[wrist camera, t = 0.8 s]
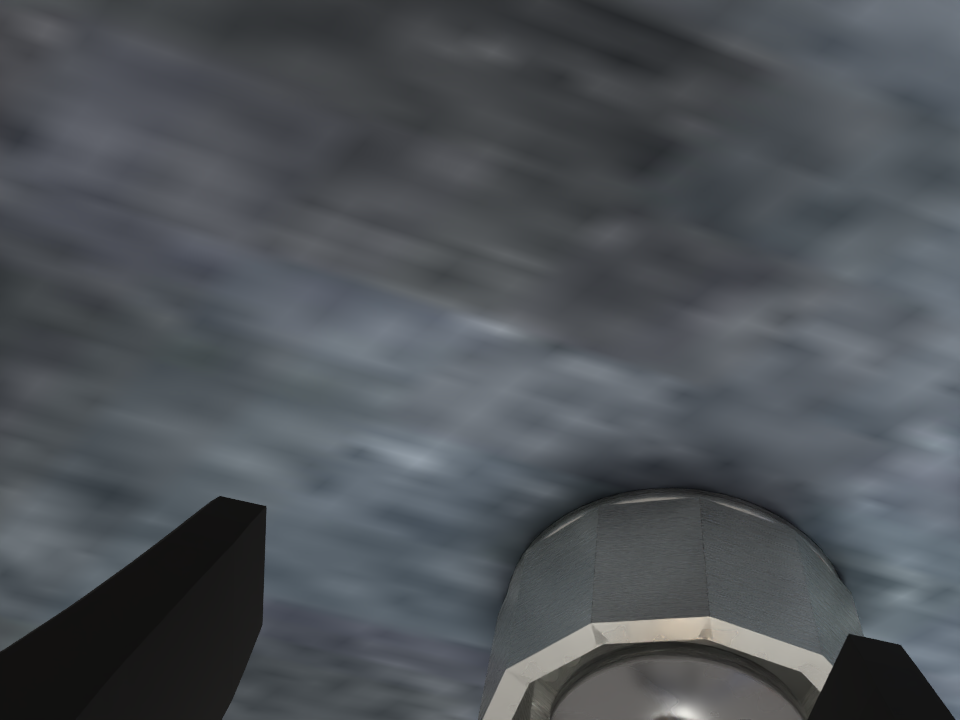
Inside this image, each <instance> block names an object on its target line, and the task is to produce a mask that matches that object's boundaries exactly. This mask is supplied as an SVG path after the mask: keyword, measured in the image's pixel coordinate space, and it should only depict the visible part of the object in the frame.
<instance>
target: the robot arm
mask: <svg viewBox="0 0 960 720" xmlns="http://www.w3.org/2000/svg"><path fill="white" fill-rule="evenodd" d="M265 534H266V506H263V505H258V504H254V503H249V502H245V501H240V500H235V499H231V498H226V497H222V496H219V497H217V498H216V499H214V500H212V501H211V502H210V503H208V504H207V505H206V506H204V507H203V508H202V509H200V510H199V511H198V512H196V513H195V514H194V515H193V516H191V517H190V518H189V519H187V520H186V521H185V522H184V523H182V524H181V525H180V526H178V527H177V528H176V529H175V530H173V531H172V532H171V533H169V534H168V535H167V536H165V537H164V538H163V539H162V540H160V541H159V542H158V543H156V544H155V545H154V546H152V547H151V548H150V549H148V550H147V551H146V552H144V553H143V554H142V555H140V556H139V557H138V558H137V559H135V560H134V561H133V562H131V563H130V564H128V565H127V566H126V567H124V568H123V569H122V570H120V571H119V572H117V573H116V574H115V575H113V576H112V577H110V578H109V579H108V580H106V581H105V582H103V583H102V584H101V585H99V586H98V587H97V588H95V589H94V590H92V591H91V592H90V593H88V594H87V595H85V596H84V597H83V598H81V599H80V600H78V601H77V602H75V603H74V604H73V605H71V606H70V607H68V608H67V609H65V610H64V611H62V612H61V613H59V614H58V615H56V616H55V617H53V618H52V619H50V620H48V621H47V622H45V623H44V624H42V625H41V626H39V627H38V628H36V629H35V630H33V631H32V632H30V633H29V634H27V635H26V636H24V637H23V638H21V639H19V640H18V641H16V642H15V643H13V644H12V645H10V646H9V647H7V648H6V649H4V650H2V651H1V652H0V720H222V718H223V716H224V714H225V712H226V711H227V709H228V707H229V705H230V703H231V701H232V699H233V697H234V694H235V692H236V689H237V687H238V685H239V682H240V680H241V677H242V675H243V673H244V670H245V668H246V665H247V663H248V660H249V658H250V655H251V653H252V650H253V647H254V645H255V642H256V640H257V637H258V635H259V632H260V630H261V627H262V622H263V592H264V563H265ZM807 720H955V718H954V717H953V716H952V714H951V713H950V711H949V710H948V709H947V707H946V706H945V705H944V703H943V702H942V700H941V699H940V698H939V696H938V695H937V694H936V692H935V691H934V689H933V688H932V687H931V685H930V684H929V683H928V681H927V680H926V678H925V677H924V676H923V674H922V673H921V672H920V670H919V669H918V667H917V666H916V665H915V663H914V662H913V661H912V659H911V658H910V657H909V655H908V654H907V653H906V652H905V650H904V649H903V648H902V646H901V645H899V644H894V643H889V642H885V641H880V640H876V639H871V638H867V637H862V636H857V635H853V634H848V636H847V638H846V640H845V642H844V644H843V646H842V648H841V650H840V653H839V655H838V657H837V659H836V661H835V663H834V665H833V667H832V669H831V671H830V673H829V675H828V678H827V680H826V682H825V684H824V686H823V688H822V690H821V692H820V694H819V696H818V698H817V700H816V703H815V705H814V707H813V709H812V711H811V713H810V715H809V717H808V719H807Z"/></svg>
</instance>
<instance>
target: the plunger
mask: <svg viewBox="0 0 960 720" xmlns="http://www.w3.org/2000/svg"><path fill="white" fill-rule="evenodd" d="M807 719H808V718H807V715H806V713H805V710H804V708H803V706H802V705H801V703H800V701H799V700H798V698H797V697H796V695H795V694H794V693H793V692H792V691H791V689H790V688H789V687H788V686H787V685H786V684H785V683H784V682H783V681H781V680H780V679H779V678H778V677H777V676H776V675H774V674H773V673H772V672H770V671H769V670H767V669H766V668H764V667H763V666H761V665H759V664H757V663H755V662H754V661H752V660H750V659H748V658H746V657H743V656H741V655H738V654H736V653H733V652H731V651H727V650H724V649H720V648H717V647H713V646H708V645H703V644H698V643H689V642H678V641H659V642H649V643H640V644H635V645H630V646H625V647H622V648H619V649H615V650H612V651H609V652H607V653H604V654H602V655H600V656H598V657H596V658H594V659H592V660H590V661H589V662H587V663H585V664H584V665H582V666H581V667H580V668H578V669H577V670H576V671H575V672H573V673H572V674H571V675H570V676H569V677H568V678H567V680H566V681H565V682H564V683H563V684H562V685H561V687H560V689H559V690H558V692H557V693H556V695H555V698H554V700H553V703H552V705H551V710H550V715H549V720H807Z"/></svg>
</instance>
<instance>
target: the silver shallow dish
mask: <svg viewBox="0 0 960 720" xmlns="http://www.w3.org/2000/svg"><path fill="white" fill-rule="evenodd" d="M848 634H853V635H857V636H862V637H864V635H863V632H862V628H861V625H860V621H859V618H858V614H857V611H856V607H855V604H854V600H853V597H852V593H851V592H850V591H849V590H848V588H847V587H846V586H845V585H844V584H843V583H842V582H841V579H840V578H839V576H838V574H837V572H836V570H835V569H834V567H833V565H832V563H831V562H830V561H829V560H828V558H827V557H826V556H825V554H824V553H823V552H822V551H821V549H820V548H819V547H818V546H817V545H816V544H815V543H814V542H813V541H812V540H811V539H810V538H809V537H807V536H806V535H805V534H804V533H803V532H802V531H800V530H799V529H797V528H796V527H795V526H793V525H792V524H791V523H789V522H788V521H786V520H785V519H783V518H781V517H779V516H777V515H775V514H774V513H772V512H770V511H768V510H766V509H764V508H762V507H759V506H757V505H754V504H752V503H749V502H747V501H744V500H741V499H737V498H734V497H730V496H727V495H723V494H719V493H713V492H707V491H701V490H693V489H678V488H663V489H645V490H638V491H632V492H625V493H621V494H617V495H613V496H609V497H606V498H602V499H599V500H597V501H594V502H592V503H589V504H586V505H584V506H581V507H580V508H578V509H576V510H574V511H572V512H570V513H568V514H567V515H565V516H563V517H562V518H560V519H559V520H557V521H556V522H555V523H553V524H552V525H550V526H549V527H548V528H546V529H545V530H544V531H543V532H542V533H541V534H540V535H539V536H538V537H537V538H536V539H535V540H534V541H533V542H532V543H531V545H530V546H529V547H528V549H527V550H526V551H525V553H524V554H523V555H522V557H521V559H520V561H519V562H518V564H517V566H516V568H515V570H514V573H513V575H512V578H511V581H510V584H509V588H508V593H507V595H506V598H505V600H504V602H503V605H502V607H501V609H500V611H499V614H498V618H497V624H496V629H495V634H494V639H493V644H492V649H491V655H490V660H489V665H488V670H487V675H486V680H485V686H484V691H483V696H482V701H481V706H480V711H479V716H478V720H549V715H550V710H551V705H552V703H553V700H554V698H555V695H556V693H557V692H558V690H559V689H560V687H561V685H562V684H563V683H564V682H565V681H566V680H567V678H568V677H569V676H570V675H571V674H572V673H573V672H575V671H576V670H577V669H578V668H580V667H581V666H582V665H584V664H585V663H587V662H589V661H590V660H592V659H594V658H596V657H598V656H600V655H602V654H604V653H607V652H609V651H612V650H615V649H619V648H622V647H625V646H630V645H635V644H640V643H649V642H659V641H678V642H689V643H698V644H703V645H708V646H713V647H717V648H720V649H724V650H727V651H731V652H733V653H736V654H738V655H741V656H743V657H746V658H748V659H750V660H752V661H754V662H755V663H757V664H759V665H761V666H763V667H764V668H766V669H767V670H769V671H770V672H772V673H773V674H774V675H776V676H777V677H778V678H779V679H780V680H781V681H783V682H784V683H785V684H786V685H787V686H788V687H789V688H790V689H791V691H792V692H793V693H794V694H795V695H796V697H797V698H798V700H799V701H800V703H801V705H802V706H803V708H804V710H805V713H806V715H807V718H808V717H809V715H810V713H811V711H812V709H813V707H814V705H815V703H816V700H817V698H818V696H819V694H820V692H821V690H822V688H823V686H824V684H825V682H826V680H827V678H828V675H829V673H830V671H831V669H832V667H833V665H834V663H835V661H836V659H837V657H838V655H839V653H840V650H841V648H842V646H843V644H844V642H845V640H846V638H847V636H848Z"/></svg>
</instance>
